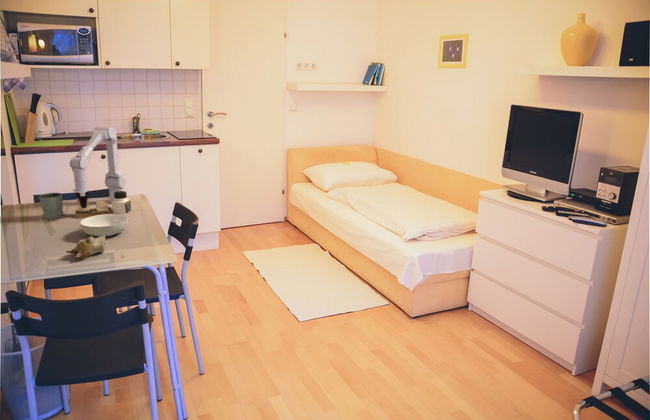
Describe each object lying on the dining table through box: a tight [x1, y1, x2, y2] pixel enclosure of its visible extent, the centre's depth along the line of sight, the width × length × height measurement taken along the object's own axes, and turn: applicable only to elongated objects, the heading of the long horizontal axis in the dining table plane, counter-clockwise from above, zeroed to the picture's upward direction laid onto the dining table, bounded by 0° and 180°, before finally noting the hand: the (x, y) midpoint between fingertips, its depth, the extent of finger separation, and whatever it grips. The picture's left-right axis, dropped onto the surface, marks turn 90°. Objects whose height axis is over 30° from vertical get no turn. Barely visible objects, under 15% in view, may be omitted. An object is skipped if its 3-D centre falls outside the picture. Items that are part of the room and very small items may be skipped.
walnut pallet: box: [74, 206, 113, 220], centre depth 267 cm, size 10×17×3 cm, turn 117°
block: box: [95, 200, 109, 212], centre depth 268 cm, size 4×6×6 cm
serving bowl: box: [79, 213, 129, 237], centre depth 240 cm, size 21×21×7 cm
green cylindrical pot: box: [38, 192, 64, 220], centre depth 261 cm, size 10×10×12 cm
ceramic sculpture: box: [65, 235, 107, 259], centre depth 214 cm, size 11×9×15 cm
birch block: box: [76, 197, 91, 212], centre depth 263 cm, size 4×6×6 cm
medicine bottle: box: [111, 190, 132, 215], centre depth 271 cm, size 7×7×12 cm
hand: (83, 206), depth 264 cm, fingers closed on birch block, 4 cm apart
